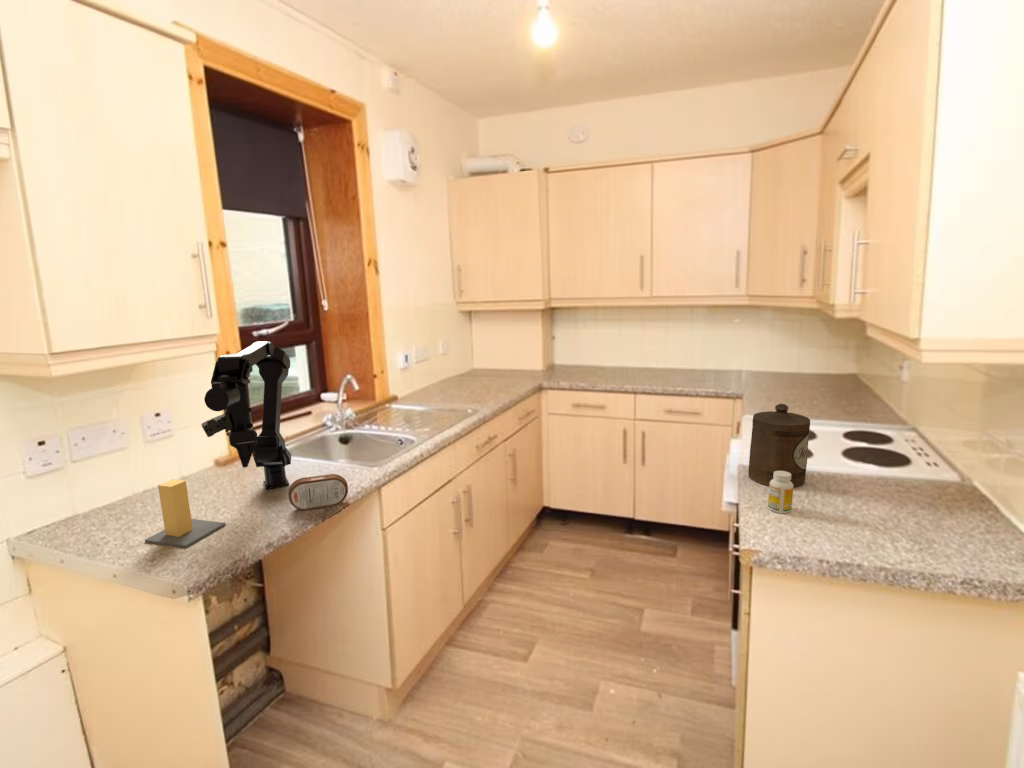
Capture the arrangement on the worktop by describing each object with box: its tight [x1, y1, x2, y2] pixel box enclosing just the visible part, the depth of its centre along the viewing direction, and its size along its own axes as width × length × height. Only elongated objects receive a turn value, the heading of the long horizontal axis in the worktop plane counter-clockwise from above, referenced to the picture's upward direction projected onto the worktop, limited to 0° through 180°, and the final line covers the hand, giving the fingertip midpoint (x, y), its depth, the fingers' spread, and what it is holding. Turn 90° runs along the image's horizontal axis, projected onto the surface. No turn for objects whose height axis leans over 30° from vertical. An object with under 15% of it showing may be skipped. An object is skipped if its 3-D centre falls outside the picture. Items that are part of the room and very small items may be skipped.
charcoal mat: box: [144, 518, 226, 549], centre depth 136 cm, size 12×12×1 cm
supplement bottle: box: [767, 471, 794, 514], centre depth 140 cm, size 5×5×10 cm
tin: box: [287, 473, 349, 511], centre depth 149 cm, size 15×3×8 cm, turn 111°
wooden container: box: [748, 403, 811, 488], centre depth 159 cm, size 15×15×22 cm
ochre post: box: [157, 478, 193, 537], centre depth 134 cm, size 4×4×12 cm
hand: (243, 462), depth 146 cm, fingers open, 9 cm apart
